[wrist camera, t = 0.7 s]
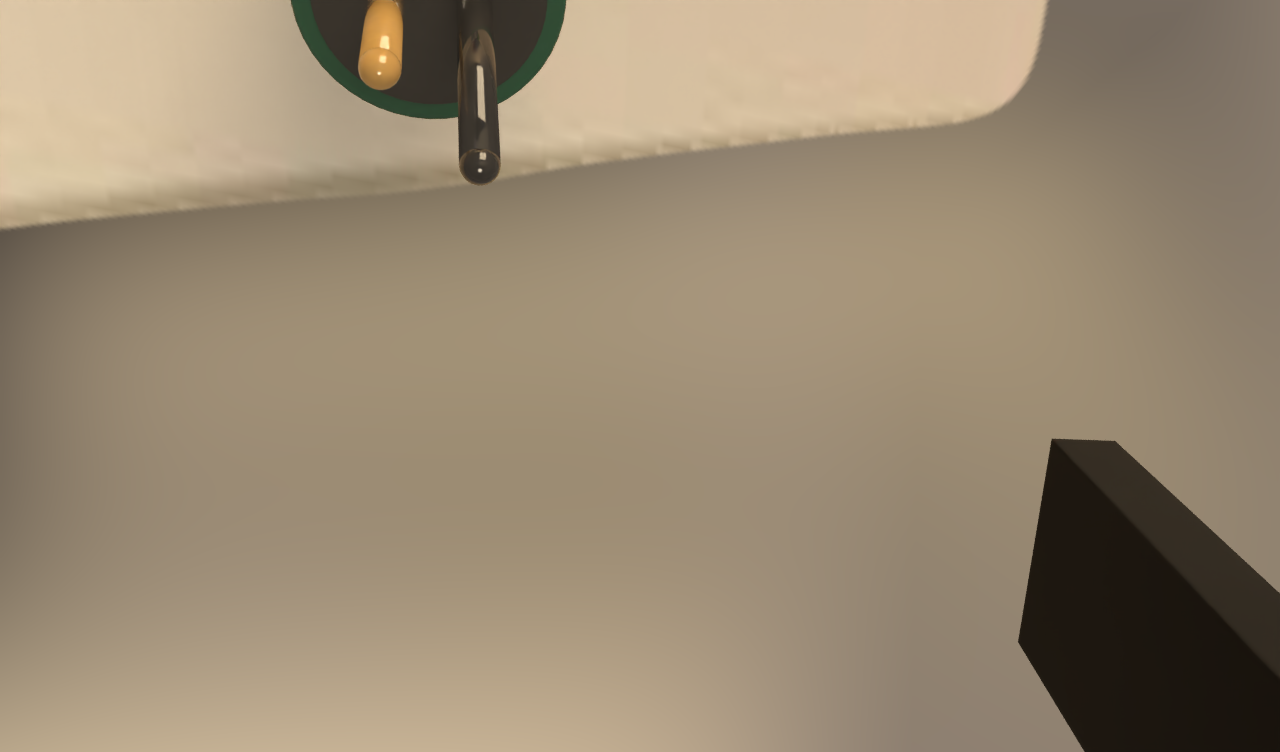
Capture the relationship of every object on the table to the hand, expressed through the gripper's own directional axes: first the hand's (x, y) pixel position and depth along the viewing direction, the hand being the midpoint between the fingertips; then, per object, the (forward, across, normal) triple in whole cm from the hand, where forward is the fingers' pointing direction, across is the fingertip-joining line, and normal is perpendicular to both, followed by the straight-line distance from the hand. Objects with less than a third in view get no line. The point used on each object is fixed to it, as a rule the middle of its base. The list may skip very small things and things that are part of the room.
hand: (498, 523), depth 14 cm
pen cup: (+28, -5, +9) cm, 29 cm away
